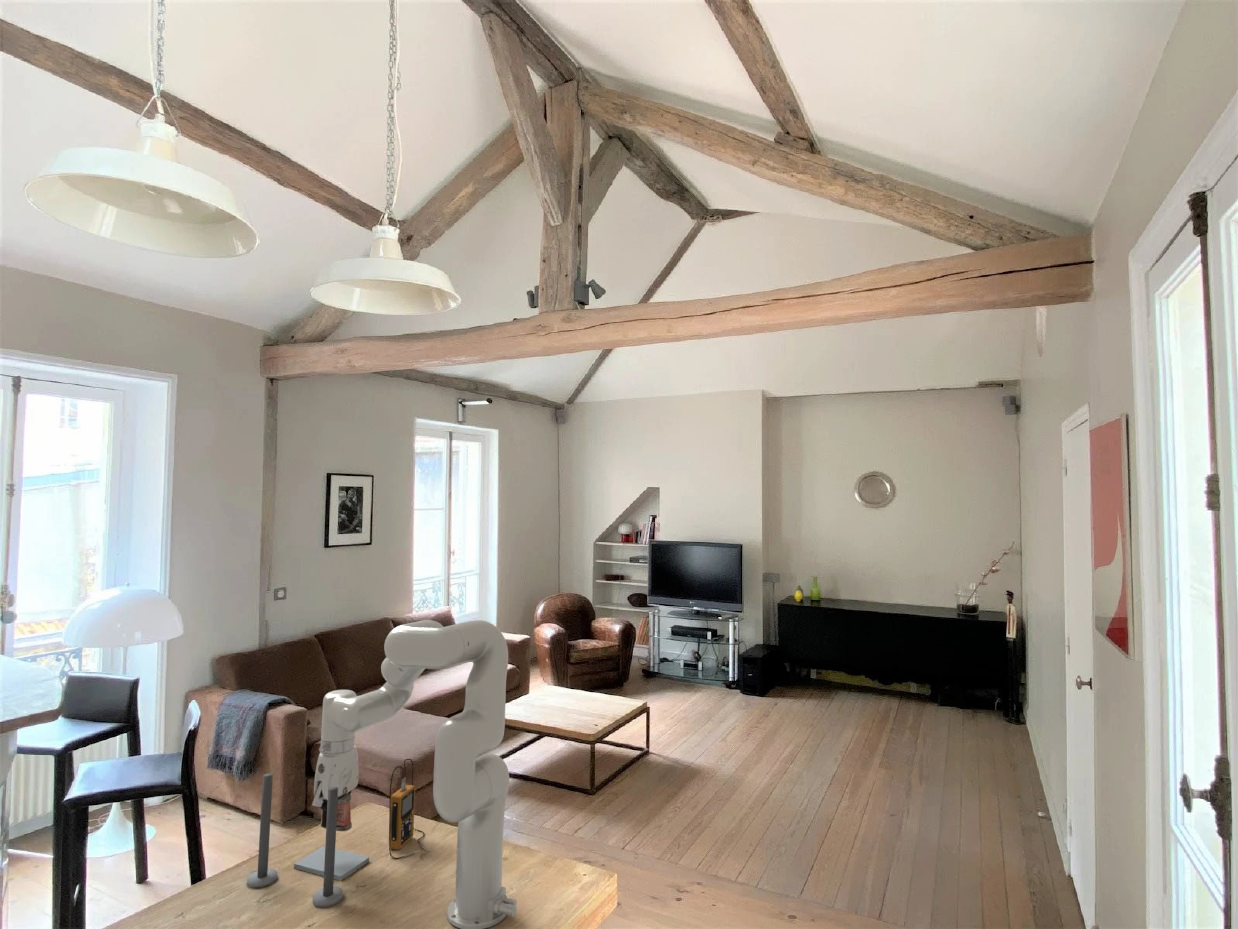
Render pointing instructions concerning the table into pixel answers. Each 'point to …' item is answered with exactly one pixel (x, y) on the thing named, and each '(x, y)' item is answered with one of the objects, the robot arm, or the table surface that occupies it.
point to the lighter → (342, 812)
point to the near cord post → (329, 857)
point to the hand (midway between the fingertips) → (333, 823)
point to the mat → (342, 867)
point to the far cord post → (264, 839)
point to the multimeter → (402, 815)
